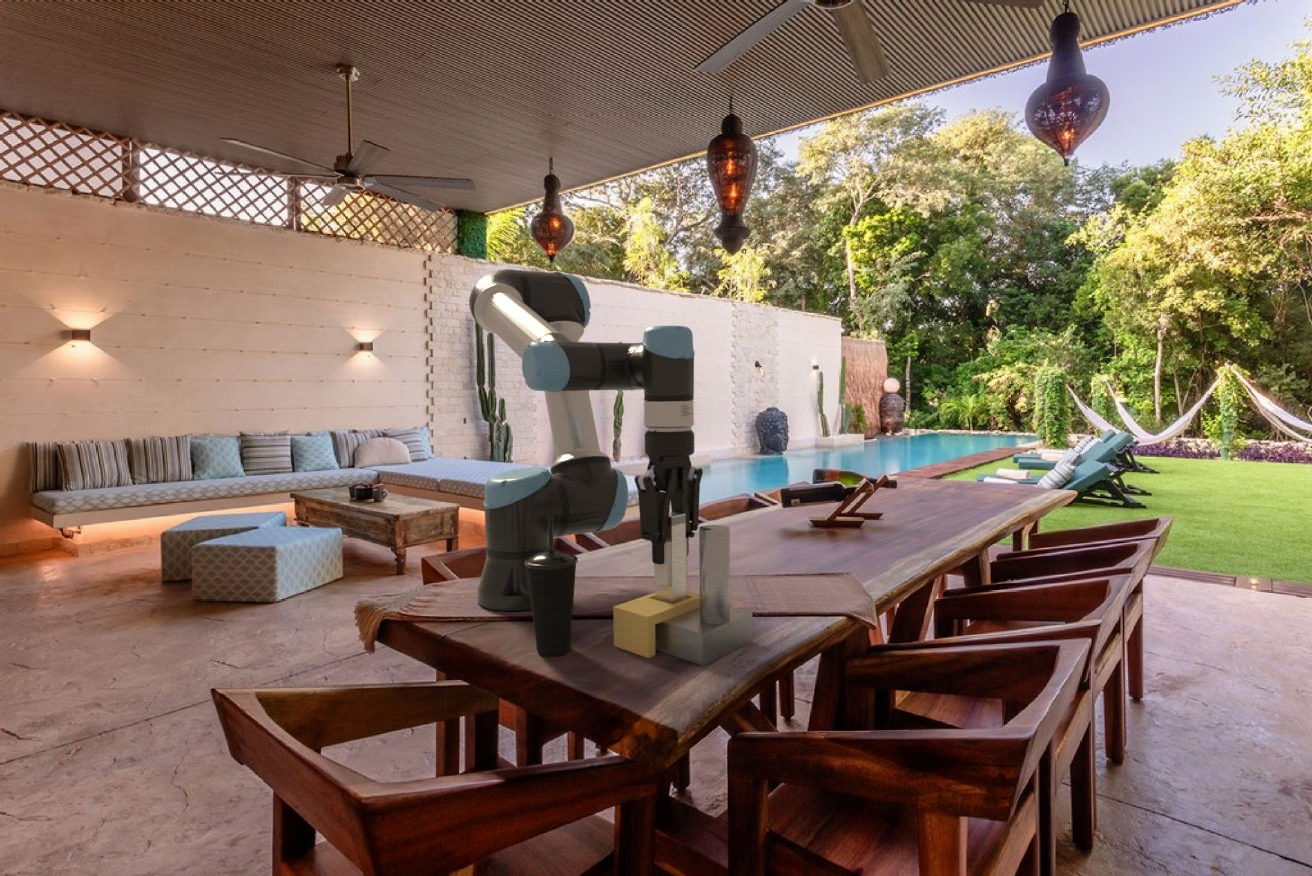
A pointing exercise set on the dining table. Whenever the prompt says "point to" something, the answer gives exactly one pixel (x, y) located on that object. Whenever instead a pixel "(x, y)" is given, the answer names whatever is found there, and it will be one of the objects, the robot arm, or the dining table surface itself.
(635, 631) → the bracket
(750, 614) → the gray post on base
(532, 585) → the drinking cup
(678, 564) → the pin
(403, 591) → the dining table surface
